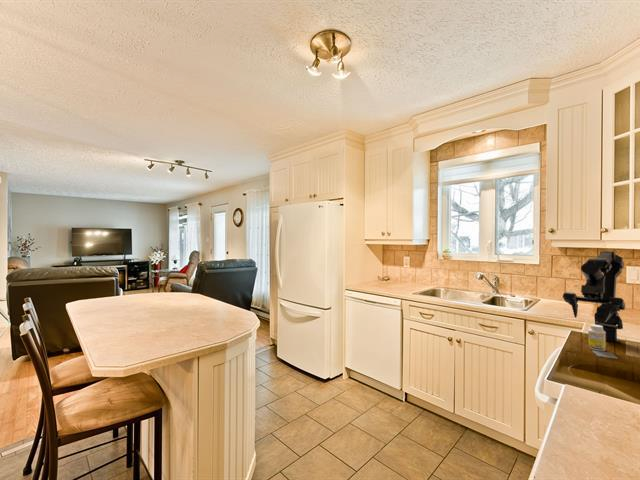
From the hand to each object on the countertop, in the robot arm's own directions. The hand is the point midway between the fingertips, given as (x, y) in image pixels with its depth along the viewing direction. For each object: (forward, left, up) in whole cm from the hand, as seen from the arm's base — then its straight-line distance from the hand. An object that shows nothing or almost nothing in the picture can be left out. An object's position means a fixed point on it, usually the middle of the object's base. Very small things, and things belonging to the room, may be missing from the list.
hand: (589, 319), depth 122 cm
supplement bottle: (-10, +6, -15) cm, 19 cm away
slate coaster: (-3, +6, -15) cm, 16 cm away
